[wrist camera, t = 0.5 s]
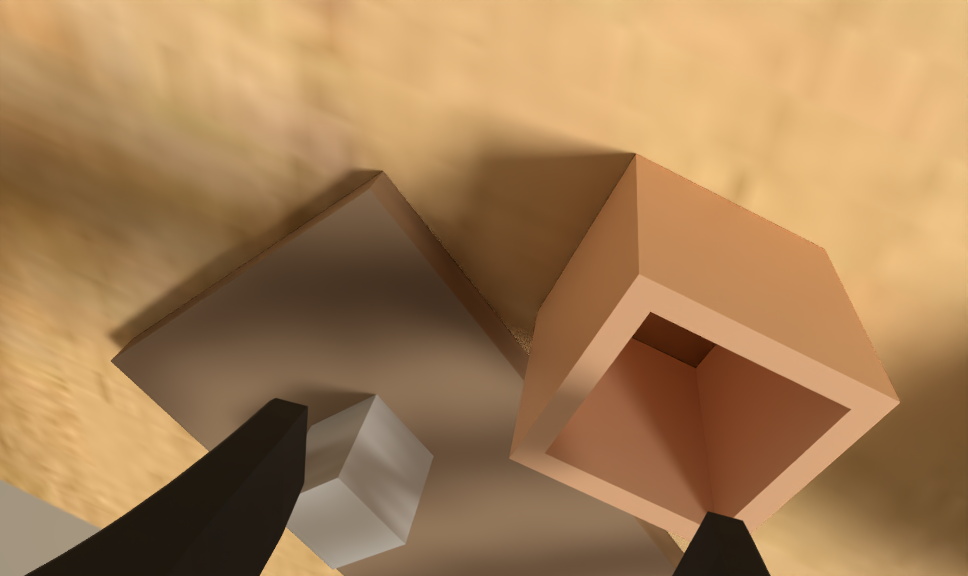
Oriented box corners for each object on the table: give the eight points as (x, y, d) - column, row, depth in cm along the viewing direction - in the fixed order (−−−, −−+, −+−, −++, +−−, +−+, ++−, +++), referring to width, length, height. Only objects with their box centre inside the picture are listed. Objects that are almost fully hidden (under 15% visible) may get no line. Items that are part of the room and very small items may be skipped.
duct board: (691, 563, 25) (703, 693, 21) (439, 630, 30) (411, 745, 27) (383, 171, 19) (319, 253, 15) (131, 339, 24) (36, 433, 20)
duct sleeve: (824, 249, 18) (900, 402, 13) (701, 389, 21) (724, 556, 16) (635, 153, 18) (638, 274, 13) (537, 311, 21) (509, 458, 16)
